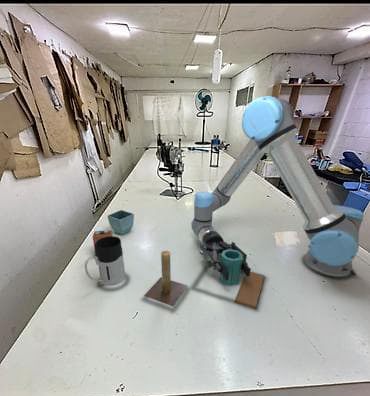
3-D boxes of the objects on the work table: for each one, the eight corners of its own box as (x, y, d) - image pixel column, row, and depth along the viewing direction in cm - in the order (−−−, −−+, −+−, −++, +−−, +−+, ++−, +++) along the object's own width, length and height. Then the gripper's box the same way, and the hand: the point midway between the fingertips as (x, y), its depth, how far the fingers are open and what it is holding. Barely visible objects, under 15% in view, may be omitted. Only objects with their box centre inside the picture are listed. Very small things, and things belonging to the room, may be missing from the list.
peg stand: (188, 289, 75) (188, 248, 69) (173, 310, 67) (172, 266, 61) (161, 280, 79) (159, 241, 73) (144, 299, 71) (140, 257, 65)
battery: (113, 255, 93) (110, 232, 89) (95, 256, 92) (91, 234, 88) (114, 249, 97) (111, 227, 93) (97, 250, 96) (93, 229, 92)
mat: (264, 277, 81) (264, 275, 81) (255, 308, 68) (256, 306, 68) (209, 263, 89) (209, 260, 89) (192, 288, 76) (192, 286, 75)
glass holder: (132, 277, 81) (128, 238, 74) (102, 304, 69) (95, 261, 63) (112, 270, 84) (107, 233, 78) (81, 295, 72) (71, 253, 66)
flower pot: (122, 238, 106) (120, 219, 103) (108, 233, 111) (106, 215, 107) (135, 230, 113) (134, 213, 109) (122, 226, 117) (121, 209, 114)
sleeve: (241, 277, 79) (244, 252, 75) (236, 289, 74) (239, 262, 70) (223, 272, 82) (225, 247, 78) (217, 283, 77) (219, 257, 73)
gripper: (232, 244, 95) (264, 279, 75) (186, 251, 91) (207, 290, 70) (234, 228, 92) (268, 259, 72) (186, 233, 88) (208, 269, 67)
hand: (238, 274), depth 71 cm, fingers closed on sleeve, 6 cm apart
